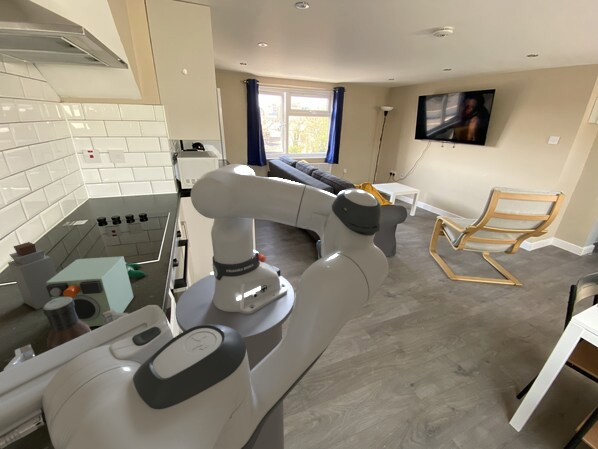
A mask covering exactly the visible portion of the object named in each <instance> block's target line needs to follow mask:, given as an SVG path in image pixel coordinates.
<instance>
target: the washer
mask: <svg viewBox="0 0 598 449" xmlns="http://www.w3.org/2000/svg"><path fill="white" fill-rule="evenodd" d="M125 263H126V261H125V257H124V255H123V256H122V255H121V256H108V257H91V258H89V257H88V258H77V259H75V260H74V261H73V262H71V263H70V264H68V265H67V266H66V267H65V268H63V269H62V270H61V271H59V272H57V275H55V276H54V277H53V278H51V279H50V280H49V281H47V282H46V284H47V286H46V288H47V291H48V293H49V296H50V297H52V300H54V299H57V298H61V297H65V296H64V295H63V292H64V291H65V290H66V289H67V288H68V287H69V286H71V285H76V286H78V287H79V288H80V291H79V293H78V294H77V295H76V296H74V297H73V298H72V299H73V301H74V303H75V305H74V308H75V312H76V314H77V316H78V319H79V320H81V321H83V322H85V323H86V324H87V325H88V326H89V328H90V327H102V326H104V325H106V323H105V321H104V317H103V315H102V313H104V312H107V311H109V310H111V309H114V310H115V312H116V313H117V312H120V313H125V312H124V311H125V310H126V309H127V308H128V306H129V305H130V303H131V301H132V300H133V298H134V293H133V289H132V288H133V287H132V285H131V281H130V277H129V276H128V272H127V268H126V264H125Z"/></svg>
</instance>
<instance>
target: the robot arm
mask: <svg viewBox="0 0 598 449" xmlns="http://www.w3.org/2000/svg"><path fill="white" fill-rule="evenodd" d="M190 200H191V204H192V206H193V207H194V209H195V211H196V212H197V213H199V215H201V216H203V217H204V218H207V219H212V220H213V224H212V226H211V231H210V236H211V245H212V253H213V254H212V258H211V259H212V271H211V272H210V275H212V274H214V276H215V292H214V297H213V303H214V305H215V306H216V307H217V308H218V309H220V310H223V311H227V312H240V313H244V314H252V313H253V312H255V311H257V310H259V309H260V308H262V307H264V306H266V305H267V304H269V303H271V302H273V301H274V300H276V299H278V298H279V297H281V296H283V295H285V294H286V293H287V286H286V284H285V283H284V281H283V280H282V279H281V278H279V277H280V276H281V269H280V268H278V267H276V266H274V265H272V264H268V263H266V261H267V257H266V256H265V255H264V254H263V253H260V252H259V251H258V250H256V249H255V248H254V234H253V228H254V227H253V225H254V220H264V221H268V222H269V221H270V222H275V223H279V224H283V225H288V226H292V227H296V228H300V229H305V230H310V231H313V232H314V233H316V235H318V237H319V239H320V240H317V242H316V243H315V245H316V247H315V248H316V250H317V255H318V257H317V258H318V259H316V260H315V261H314V262H313V263H311V264H310V265H309V266H308V267H307V268H306V269H305V270H304V271H303V273H302V274H301V275H300V277H299V278H298V279H299V280H298V282H297V285H296V289H295V293H294V305H293V310H292V312H291V314H290V318H289V322H288V325H287V328H286V330H285V332H284V334H283V335H282V340H281V341H280V343H279V344H278V345H277V346H276V347H275V348H274V349H273V350H272V351H271V352H270V353H269V354H268V355H267V356H266V357H265V358H264V359H263V360H262V361H260V362H259V363H258V364H257V365H256V366H255V367H254V368H253V369H252V370H251V371H250V368H249V361H248V354H247V349H246V343H245V341H244V339H243V337H242V336H241V335H240V334H239V333H238V332H237V331H235V330H233V329H232V328H229V327H227V326H223V325H217V324H206V325H200V326H195V327H192V328H190V329H188V330H186V331H184V332H183V331H181V332H180V333H179V334H177V335H175V336H174V334H173V332H172V329H171V327H170V325H169V323H168V318H167V315H166V313H165V312H164V310H163V309H162V308H161V307H160V306H159V305H157V304H148V305H146V306H144V307H142V308H140V309H137V310H135V311H132V312H130V313H129V312H123V313H120V312H117V313H116V312H115V310H114V309H111V310H109V311H107V312H104V313H102V315H103V317H104V321H105V323H106V325H101V326H98V328H95V329H93V330H91V332H88V333H86V334H84V335H82V336H80V337H77V338H75V339H73V340H71V341H69V342H66V343H64V344H62V345H60V346H58V347H55V348H53V349H51V350H49V349H48V350H47V351H44V352H42V353H40V354H38V355H36V353H35V351H34V349H33V347H32V344H31V343H28V344H26V345H24V346H21V347H19V348H17V349H14V355H15V356H14V357H13V358H12V359H11V360H10V361H9V362H8V364H7V365H6V366H5V367H3V370H2V371H1V372H0V449H4V448H5V447H7V446H9V445H11V444H12V443H14V442H16V441H18V440H20V439H22V438H25V437H26V436H27V435H29V434H31V433H33V432H34V431H36V430H38V429H39V428H41V427H43V426H44V425H46V426H47V430H48V434H49V438H50V442H51V445H52V447H53V448H54V449H252V448H253V446H254V444H255V442H256V440H257V438H258V436H259V434H260V432H261V429H262V427H263V426H264V424H265V422H266V420H267V419H268V417H269V416H270V415H271V413H272V412H273V411H274V410H275V409H276V408H277V406H278V405H279V404H280V403H281V402H282V401H283V402H284V400H285V399H286V397H288V395H289V394H290V393H291V392H292V390H294V389H295V387H296V386H297V385H298V384H299V383H300V382H301V381H302V379H303V378H304V377H305V376H306V375H307V374H308V373H309V371H310V370H311V369H312V368H313V367H314V366H315V364H316V363H317V362H318V361H319V359H320V358H321V357H322V355H323V354H324V352H326V350H327V349H328V347H329V346H330V344H331V343H332V342H333V341H334V339H335V338H336V336H337V335H338V334H339V333H340V331H341V330H342V329H343V328H344V327H345V326H346V325H347V323H349V321H350V320H352V318H353V317H354V316H355V315H356V314H357V313H358V312H359V311H360V310H361V309H362V308H363V307H365V305H366V304H367V303H369V302H370V301H371V300H372V299H373V297H374V296H376V294H377V293H378V292H379V290H380V289H381V287H382V286H383V285H384V283H385V281H386V279H387V278H388V276H389V269H390V266H389V260H388V258H387V256H386V254H385V253H384V252H383V250H381V248H379V247H378V246H376V245H375V242H374V239H375V236H376V234H377V233H378V232H380V230H381V221H382V212H383V211H382V210H383V209H382V205H381V202H380V201H379V199H378V198H377V197H376V196H375V195H374V194H373V193H370V192H369V191H366V190H363V189H360V188H347V189H344V190H341V191H339V193H338V194H334V193H331V192H329V191H328V190H324V189H321V188H318V187H315V186H312V185H308V184H304V183H299V182H295V181H291V180H289V179H283V178H280V177H267V176H266V177H265V176H257V175H256V172H254V170H253V169H252V168H250V167H249V166H247V165H244V164H241V163H229V164H227V165H223V166H220V167H219V168H216V169H214V170H211V171H207V172H205V173H204V174H202V176H200V177H199V178H198V180H196V181H195V183H194V184H193V185H192V187H191V190H190Z"/></svg>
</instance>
